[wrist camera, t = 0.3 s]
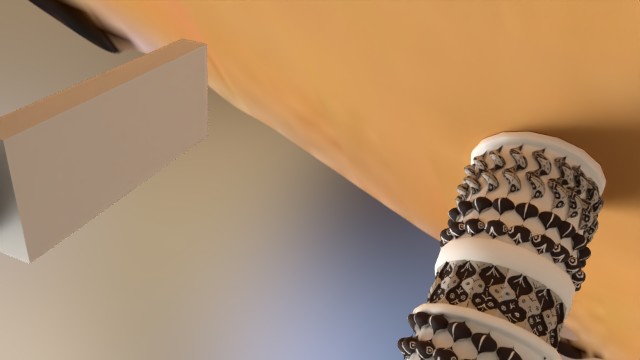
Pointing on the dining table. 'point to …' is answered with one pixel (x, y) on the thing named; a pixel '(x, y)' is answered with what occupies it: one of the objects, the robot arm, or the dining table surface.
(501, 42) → the dining table surface
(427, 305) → the spiral seashell
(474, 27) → the dining table surface
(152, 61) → the robot arm
